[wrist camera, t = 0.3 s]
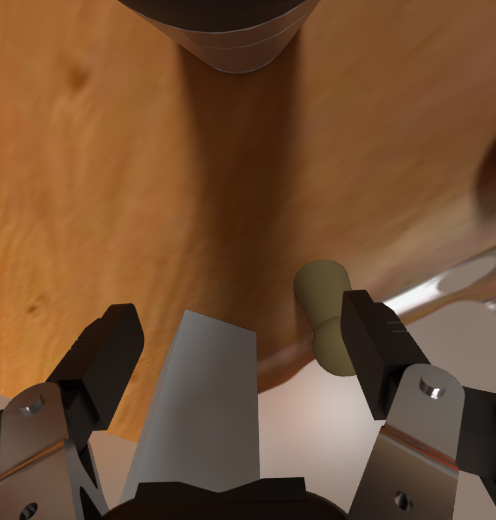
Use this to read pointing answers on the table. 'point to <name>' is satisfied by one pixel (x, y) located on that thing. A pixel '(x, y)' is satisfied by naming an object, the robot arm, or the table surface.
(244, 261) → the table surface
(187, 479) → the stand
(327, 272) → the cork
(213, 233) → the table surface
